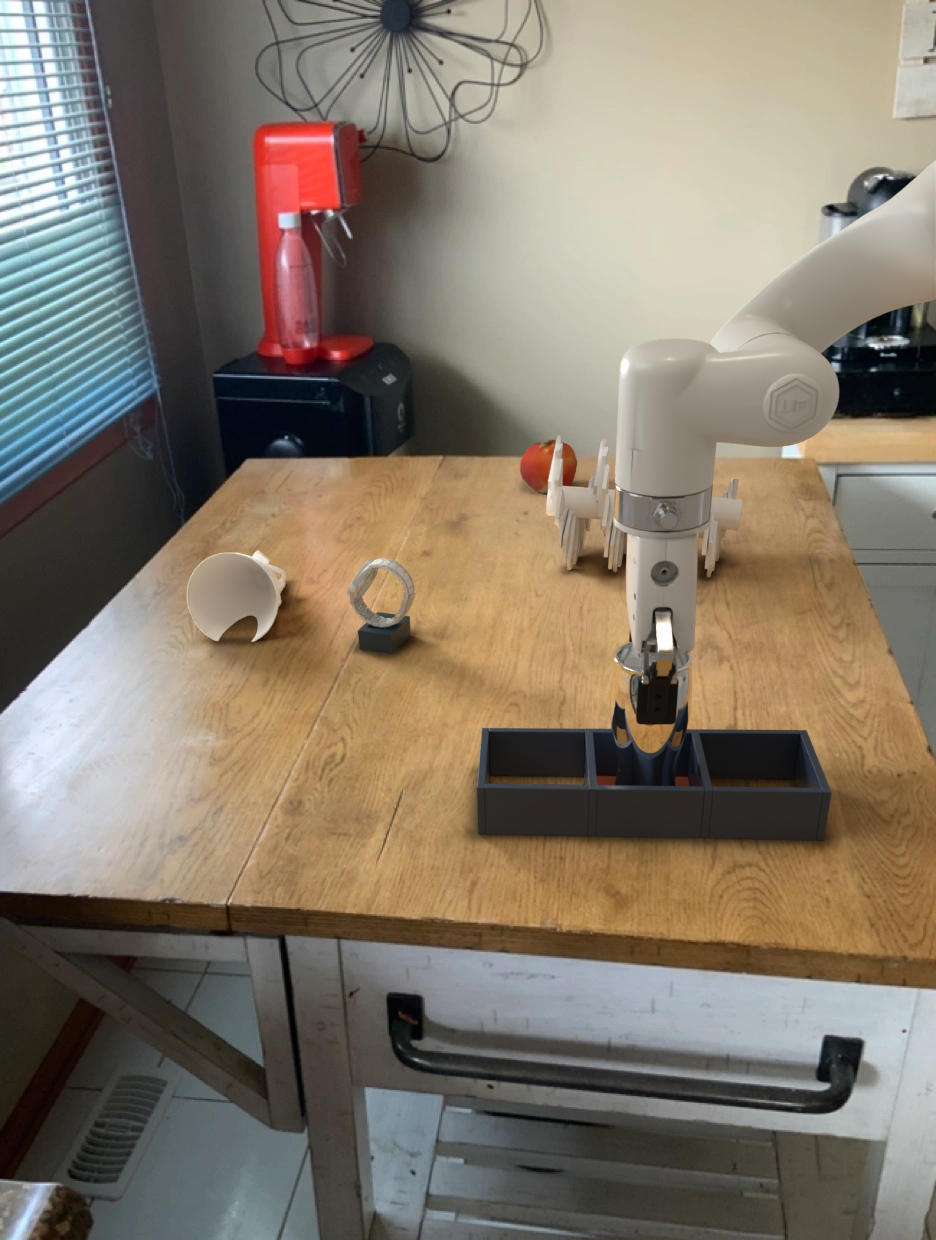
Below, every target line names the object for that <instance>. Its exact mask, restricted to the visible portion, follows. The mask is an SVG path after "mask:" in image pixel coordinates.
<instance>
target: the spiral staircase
mask: <svg viewBox="0 0 936 1240" xmlns="http://www.w3.org/2000/svg"><path fill="white" fill-rule="evenodd" d="M555 440H556V445H555V450H554V454H553V459H552V464H551V469H550V474H549V479H548V493H546V494H547V495H546V507H545V510H546V511H545V514H546V516H550V517H551V516H553V517H554V522H553V523H554V524H553V525H554V526H556V528H557V545H556V550H557V551H561V564H566V569H567V571H572V569H573V565H576V564H577V562H578V559H579V555H583V553H584V548H585V543H586V539H587V532H591V528H592V527H591V526H592V520H600V525H599V528H600V529H599V530H600V531H602V532H603V537H605V538H604V539H605V540H604V550H603V551H604V552H603V558H608V563H607V564H608V565H607V569H608V570H612V572H613V573H618V568H621V567H622V563H623V556H624V555H627V535H628V533H625V532H623V531H621V530H619V529H618V528H616V526H615V525H614V523H613V516H614V492H615V488H613V489H611V488H609V487H610V486H609V485H610V467H611V465H610V464H609V449H610V448H609V445H608V438H602V439H601V440H600V445H599V449H598V458H597V464H596V468H595V473H594V474H593V475H591V477H589V479H588V486H587V487H585V486H574V485H573V486H572V485H570V486H562V483H563V459H562V449H563V444H562V442H563V439H562V435H557V436H556V439H555ZM727 488H728V489H727V492H723V494H722V496H712V500H711V512H710V524H709V526H708V528H707V529H706V530H704V531H702V532H700V533H698V539H701V555H702V556H705V560H704V570H706V578H711V576H712V572H714V571H715V566H716V562H719V560H720V559H719V558H720V553H721V546H722V540H723V539H725V535H726V531H728V530H730V531H739V528H740V524H741V518H742V511H743V510H742V509H743V498H737V496H738V495H737V494H738V488H739V478H736V477H732V478H731V480H730V482H729V484H728V487H727Z"/></svg>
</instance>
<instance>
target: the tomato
mask: <svg viewBox="0 0 936 1240" xmlns="http://www.w3.org/2000/svg"><path fill="white" fill-rule="evenodd" d="M556 440H557V439H548V440H547V441H544V442H541V441H540V442H535V443H533V444H532V445H531V446H529V447H528V448H527V449H526V450H525V451H524V452H523V454H522V456H521V459H520V465H519V466H520V467H519V472H520V476H521V479H522V480H523V481H524V482H525V483H526V484H527V485H528V486H529V487H530V488H531V489H533V490H534V491H536V492H538V493H541V494H548V479H549V474H550V469H551V464H552V459H553V454H554V450H555V445H556ZM562 444H563V449H562V459H563V483H562V486H572V485H573V483H574V480H575V477H576V473H577V467H578V460H577V456H576V453H575V450H574V448H573V447H572V446H571V445H570V444H568V443H566V442H564V441H562Z"/></svg>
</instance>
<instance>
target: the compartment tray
mask: <svg viewBox="0 0 936 1240" xmlns="http://www.w3.org/2000/svg"><path fill="white" fill-rule="evenodd" d="M491 776H493V777H494V776H496V777H497V776H499V777H501V776H503V777H569V778H570V777H578V778H580V777H583V783H584V784H544V783H543V784H538V783H537V784H535V783H533V784H531V783H524V784H523V783H490V780H491V779H490V777H491ZM615 776H616V755H615V748H614V742H613V735H612V729H611V728H588V727H587V728H566V727H565V728H560V727H559V728H555V727H554V728H553V727H552V728H551V727H550V728H549V727H548V728H543V727H542V728H541V727H540V728H539V727H534V728H533V727H482V728H481V735H480V745H479V756H478V768H477V780H476V812H477V813H476V814H477V815H476V817H477V818H476V819H477V835H502V836H503V835H504V836H557V837H559V836H560V837H609V838H610V837H611V838H613V837H614V838H615V837H616V838H663V839H664V838H667V839H669V838H670V839H715V840H716V839H722V840H723V839H724V840H766V841H767V840H771V841H773V840H775V841H776V840H777V841H825V836H826V830H827V824H828V817H829V813H830V812H829V811H830V805H831V798H832V793H833V792H832V790H831V787H830V785H829V782H828V780H827V777H826V775H825V773H824V770H823V768H822V765H821V763H820V760H819V757H818V755H817V753H816V750H815V748H814V745H813V743H812V740H811V738H810V735H809V733H808V730H806V729H731V728H730V729H729V728H728V729H723V728H721V729H717V728H715V729H713V728H712V729H711V728H710V729H709V728H707V729H706V728H705V729H703V728H699V729H696V728H695V729H694V728H693V729H691V728H687V731H686V734H685V738H684V741H683V745H682V748H681V752H680V755H679V759H678V763H677V768H676V786H622V785H613V784H614V780H615ZM711 779H730V780H731V779H738V780H794V784H795V785H796V787H777V786H776V787H773V786H772V787H771V786H769V787H768V786H713V785H712V780H711Z"/></svg>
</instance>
